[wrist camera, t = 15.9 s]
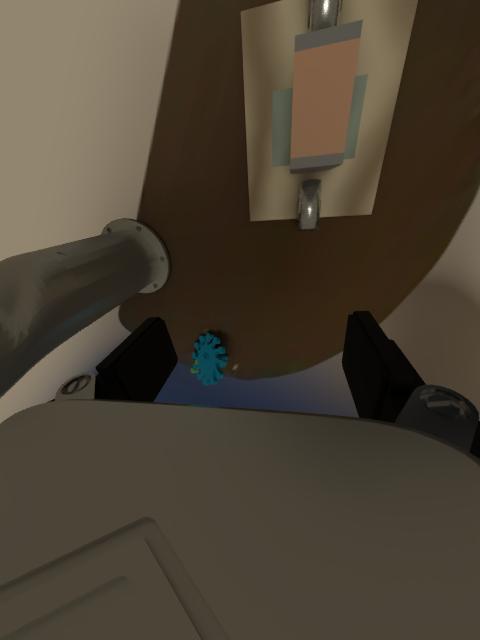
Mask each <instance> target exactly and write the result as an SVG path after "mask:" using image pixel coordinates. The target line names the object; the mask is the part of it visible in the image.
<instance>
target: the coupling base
mask: <svg viewBox="0 0 480 640" xmlns="http://www.w3.org/2000/svg"><path fill="white" fill-rule="evenodd" d="M417 2H418V0H341V8H340V17H339V25H342V24H346V23H350V22H355V21H359V20H363V23H362V30H361V37H360V44H359V51H358V59H357V66H356V73H355V80H354V87H353V94H352V102H351V109H350V116H349V123H348V130H347V137H346V145H345V152H344V159H343V164H342V165H340V166H337V167H335V168H333V169H331V170H324V171H314V172H305V173H295V174H290V156H291V129H292V102H293V75H294V48H295V35H300V34H304V33H308V32H309V28H310V13H311V0H281V1H278V2H274V3H270V4H267V5H263V6H259V7H256V8H252V9H248V10H245V11H241V27H242V49H243V71H244V94H245V116H246V139H247V161H248V184H249V206H250V221H262V220H280V219H297V220H298V213H299V194H300V183H301V182H303V181H305V180H309V179H320V180H322V189H321V201H320V214H319V217H333V216H351V215H369V214H371V213H372V209H373V204H374V200H375V195H376V191H377V186H378V181H379V177H380V172H381V168H382V163H383V158H384V154H385V149H386V145H387V140H388V135H389V131H390V126H391V122H392V117H393V113H394V108H395V103H396V99H397V94H398V90H399V85H400V80H401V76H402V71H403V67H404V62H405V58H406V53H407V48H408V44H409V39H410V35H411V30H412V25H413V21H414V16H415V12H416V7H417Z"/></svg>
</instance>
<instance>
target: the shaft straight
mask: <svg viewBox="0 0 480 640" xmlns="http://www.w3.org/2000/svg"><path fill="white" fill-rule="evenodd" d="M340 8H341V0H311V13H310V28H309V32H312V31H317V30H321V29H325V28H329V27H334V26H338V25H339V17H340Z"/></svg>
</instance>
